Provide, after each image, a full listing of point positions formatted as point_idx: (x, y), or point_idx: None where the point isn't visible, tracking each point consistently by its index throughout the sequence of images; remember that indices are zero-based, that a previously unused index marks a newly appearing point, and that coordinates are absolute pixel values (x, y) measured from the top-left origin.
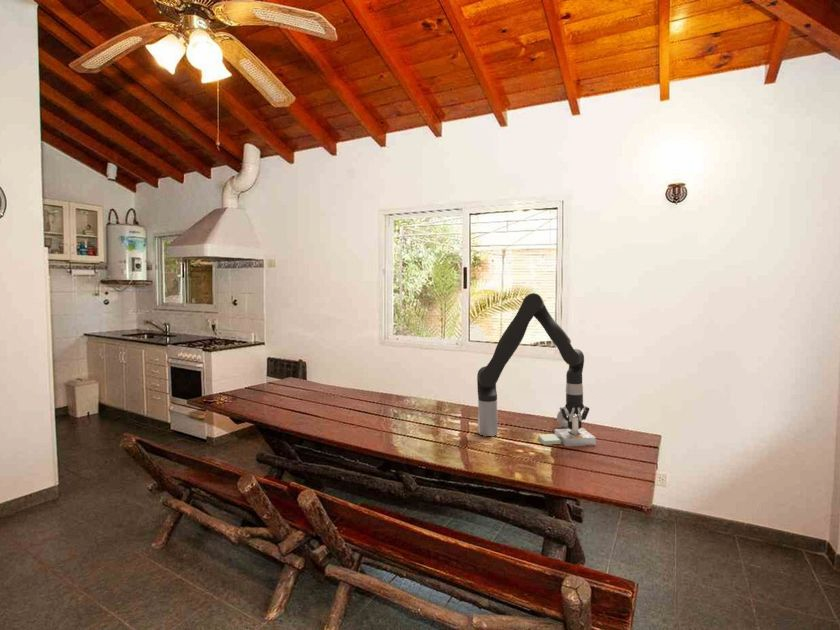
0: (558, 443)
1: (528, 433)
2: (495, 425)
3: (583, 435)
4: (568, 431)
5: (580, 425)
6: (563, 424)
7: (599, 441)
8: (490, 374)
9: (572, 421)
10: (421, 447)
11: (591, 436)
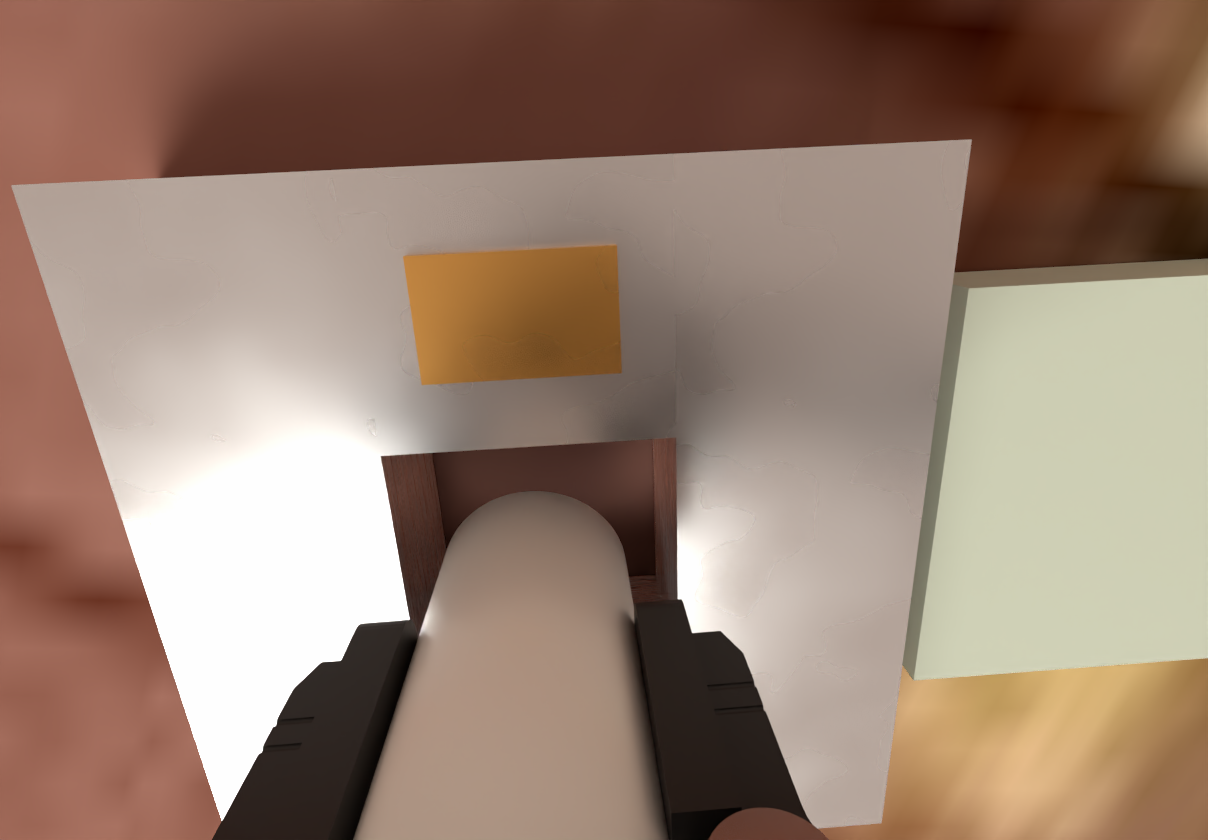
0: (975, 275)
1: (1169, 819)
2: None
3: (349, 399)
4: None
5: (313, 722)
6: None
7: (33, 425)
8: None
9: (646, 833)
10: None
11: (130, 303)
